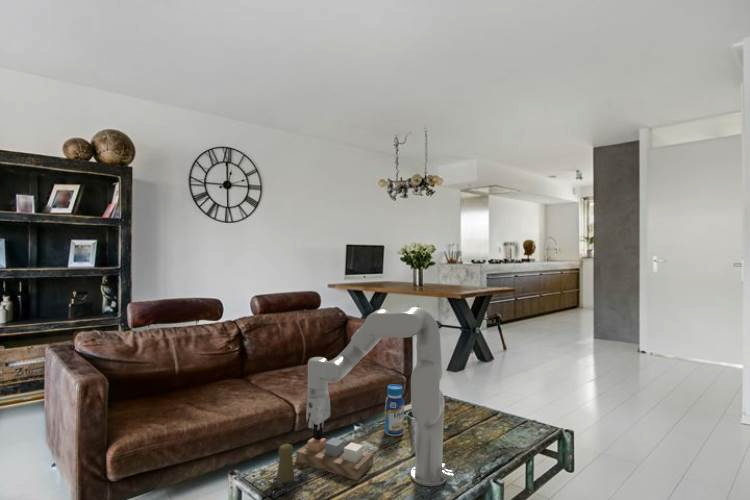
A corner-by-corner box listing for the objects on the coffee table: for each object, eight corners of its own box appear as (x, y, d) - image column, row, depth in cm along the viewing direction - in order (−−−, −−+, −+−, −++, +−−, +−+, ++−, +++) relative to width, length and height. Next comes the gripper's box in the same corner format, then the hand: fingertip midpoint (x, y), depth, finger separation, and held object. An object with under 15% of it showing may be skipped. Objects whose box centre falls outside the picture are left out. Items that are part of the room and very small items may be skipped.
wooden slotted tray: (372, 464, 159) (373, 453, 159) (357, 480, 148) (357, 468, 148) (314, 448, 171) (314, 438, 171) (296, 461, 160) (296, 451, 160)
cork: (287, 470, 154) (287, 440, 154) (298, 476, 150) (298, 445, 150) (273, 477, 149) (273, 446, 149) (284, 483, 146) (284, 451, 145)
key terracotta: (325, 451, 164) (326, 438, 164) (318, 457, 160) (318, 444, 160) (315, 448, 166) (315, 435, 166) (307, 453, 162) (307, 441, 162)
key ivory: (362, 458, 157) (362, 445, 157) (355, 464, 153) (356, 451, 152) (350, 455, 159) (351, 442, 159) (343, 461, 155) (344, 448, 155)
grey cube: (343, 453, 161) (344, 440, 160) (336, 459, 156) (337, 446, 156) (332, 450, 163) (332, 437, 163) (325, 455, 158) (325, 443, 158)
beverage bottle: (392, 426, 192) (392, 382, 191) (407, 431, 187) (408, 386, 186) (380, 432, 185) (381, 386, 185) (396, 438, 180) (397, 391, 179)
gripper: (314, 398, 154) (314, 449, 155) (336, 386, 168) (336, 432, 168) (297, 395, 158) (297, 444, 158) (320, 383, 171) (320, 429, 171)
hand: (317, 438), depth 163 cm, fingers closed
